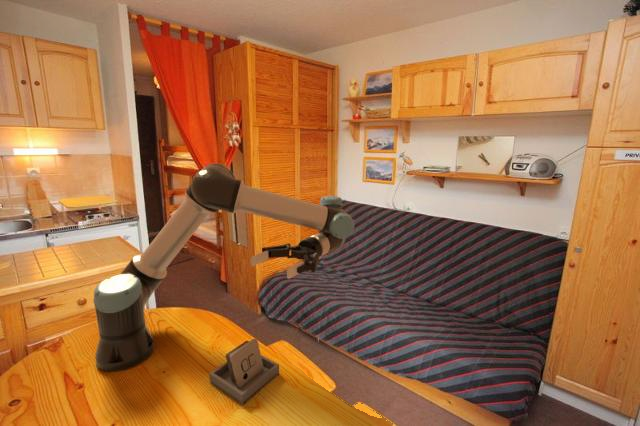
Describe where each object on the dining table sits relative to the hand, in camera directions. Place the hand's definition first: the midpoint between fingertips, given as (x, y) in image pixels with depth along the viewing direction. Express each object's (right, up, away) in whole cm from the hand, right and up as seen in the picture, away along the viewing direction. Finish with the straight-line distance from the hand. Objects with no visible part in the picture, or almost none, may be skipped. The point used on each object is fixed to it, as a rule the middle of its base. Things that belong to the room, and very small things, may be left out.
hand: (269, 267), depth 91 cm
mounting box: (-6, -30, -1) cm, 31 cm away
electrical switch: (-7, -30, -1) cm, 31 cm away
